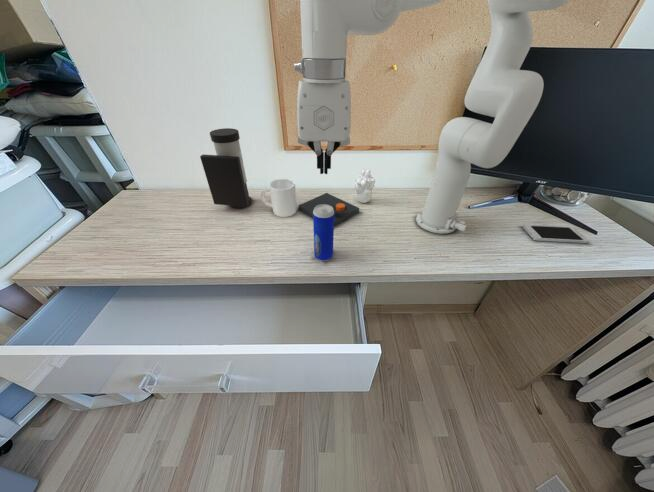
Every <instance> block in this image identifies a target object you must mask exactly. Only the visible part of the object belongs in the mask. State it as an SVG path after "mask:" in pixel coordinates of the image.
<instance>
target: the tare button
mask: <svg viewBox="0 0 654 492" xmlns="http://www.w3.org/2000/svg"><path fill="white" fill-rule="evenodd" d="M336 210H337V211H344V210H345V204H343V203H338V204H336Z"/></svg>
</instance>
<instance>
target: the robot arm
mask: <svg viewBox="0 0 654 492" xmlns="http://www.w3.org/2000/svg"><path fill="white" fill-rule="evenodd" d="M299 1H300V2H299V5H300V7H299V8H300V31H301V55H302V58H301V60H300V61H298V62H293V63H294V64H293V66H294V67H293V68H294V73H299V74H300V75H302V79H300V80H299V81H298V85H297V101H296V102H297V104H296V105H297V109H296V111H297V113H296V114H297V115H296V116H297V135H298V138H297V144H299V145H303V146H305V147H308V148H310V150H312V151H313V152H314V153H315V155H316V169H319V174H320V175H323V174H324V175H328V170H331V169H332V155H333V154H334V153H335V152H336V150H338V149H339V148H340V147H344V146H348V145H350V144H351V138H350V134H351V119H352V95H351V84H350V81H349V80H347V79H346V71H347V51H348V36H375V35H379V34H382V33H384V32H386V31H387V30H389V29H390V28H391V27H392V26H393V25H394V23H395V22H396V20H397V19H398V17H399V14H400V13H404V12H408V11H413V10H420V9H424V8H427V7H431V6H433V5H437V4H439V3H442V2H444V1H445V0H299ZM486 1H487V7H488V12H489V17H490V37H489V41H488V44H487V46H486V49H485V51H484V53H483V56H482V58H481V59H480V62H479V64H478V66H477V68H476V71H475V73H474V74H473V77H472V79H471V81H470V84H469V86H468V88H467V90H466V93H465V96H464V101H463V102H464V107H465V108H466V109H467V110H468V111H471V112H472V113H476V114H478V115H482V116H488V117H491V118H494V120H493V122H492V123H491V122H487V121H483V120H480V119H476V118H472V117H467V116H459V117H455V118H452V119H451V120H449V121H447V123H446V124H445V125H444V126H443V128H442V130H441V131H440V133H439V134H440V135H439V139H438V150H437V159H436V163H435V166H434V171H433V175H432V178H431V181H430V184H429V185H430V186H429V189H428V193H427V197H426V200H425V203H424V207H423V210H422V211H420V212H419V213H417V215H416V218H415V222H416V223H417V225H418V226H419V228H421V229H423V230H424V231H427V232H430V233H433V234H439V235H440V234H441V235H445V234H451V233H453V232H455V231H456V229H457V230H458V231H461V232H465V231H466V230H467V227H468V226H467V225H466V223H467V222H466V221H464V220H461V219H459V218H458V217H459V213H457V212H458V209H459V207H460V204H461V201H462V198H463V195H464V194H465V191H466V187H467V185H468V182H469V180H470V176H471V170H472V165H475V166H477V167H479V168H482V169H492V168H495V167H498V165H500V164H501V163H502V162H503V161H504V160H505V158H506V157H507V156H508V154H509V153H510V151H511V150H512V148H513V147H514V145H515V144H516V142H517V140H518V139H519V137H520V135H521V134H522V132H523V131H524V128H525V127H526V126H527V125H528V122H529V121H530V119H531V117H532V116H533V114H534V112H535V111H536V109H537V107H538V105H539V103H540V102H541V98H542V95H543V91H544V78H543V77H542V75H541V74H540V73H538V72H536V71H533V70H525V69H521V67H522V66H523V63H524V61H525V59H526V57H527V55H528V54H529V51H530V49H531V46H532V43H533V38H534V37H533V36H534V31H533V30H534V29H533V23H532V19H531V14H530V12H538V11H550V10H551V11H552V10H556V9H558V8H560V7H563V6H564V5H566V4H568V3H569V2H570V1H571V0H486ZM322 142H327V146H326V148H325V151H324V149H323V148H322ZM471 164H472V165H471Z"/></svg>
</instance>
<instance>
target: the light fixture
mask: <svg viewBox="0 0 654 492" xmlns="http://www.w3.org/2000/svg"><path fill="white" fill-rule="evenodd" d="M209 136H210V141H211V142H212V143H213V146H214V149H215V154H201V155H200V156H199V159H200V161H201V165H202V168H203V171H204V175H205V178H206V182H207V185H208V188H209V191H210V194H211V197H212V200H213V204H214V205H219V206H220V205H221V206H229V208H231V209H237V210H238V209H245V208H248V207H249V206H251V205H252V203H253V200H252V197H251V196H250V195H249V190H248V184H247V182H248V179H247V174H246V170H245V164H244V159H243V154H242V148H241V145H240V139H241V137H240V132H239V130H238V129H236V128H230V127H224V128H217V129H213V130H211V131H210V132H209Z"/></svg>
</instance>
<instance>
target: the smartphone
mask: <svg viewBox="0 0 654 492" xmlns="http://www.w3.org/2000/svg"><path fill="white" fill-rule="evenodd" d="M522 229H524V231H525V232H526V233H527V234H528V235H529V237H530V238H531V239H533V241H540V242H541V241H542V242H556V243H557V242H558V243H559V242H560V243H561V242H562V243H576V244H577V243H578V244H588V243H589V241H590V239H588V238H587V237H586V236H585V235H583V234H582V233H581V232H580V231H579V230H578V229H577V228H576V227H570V226H549V225H530V224H529V225H528V224H527V225H526V224H524V225H523V226H522Z"/></svg>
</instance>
